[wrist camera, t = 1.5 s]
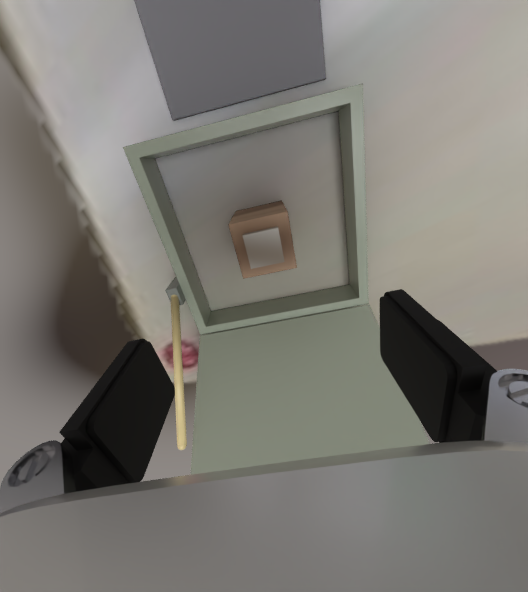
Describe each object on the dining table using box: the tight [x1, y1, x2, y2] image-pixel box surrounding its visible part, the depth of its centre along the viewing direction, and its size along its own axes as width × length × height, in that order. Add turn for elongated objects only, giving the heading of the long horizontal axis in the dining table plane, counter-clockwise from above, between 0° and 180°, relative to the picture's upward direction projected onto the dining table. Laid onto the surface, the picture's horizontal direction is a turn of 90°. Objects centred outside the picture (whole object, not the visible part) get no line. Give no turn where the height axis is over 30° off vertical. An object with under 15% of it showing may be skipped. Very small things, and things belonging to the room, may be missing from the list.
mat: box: [134, 0, 326, 120], centre depth 20 cm, size 11×14×1 cm
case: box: [123, 84, 430, 475], centre depth 21 cm, size 29×21×20 cm
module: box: [228, 201, 297, 279], centre depth 25 cm, size 5×5×8 cm
